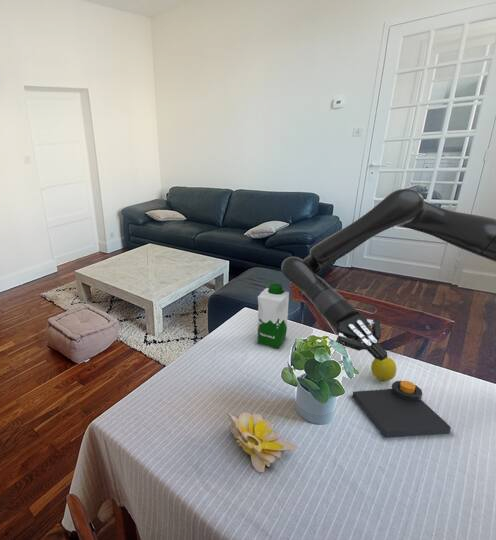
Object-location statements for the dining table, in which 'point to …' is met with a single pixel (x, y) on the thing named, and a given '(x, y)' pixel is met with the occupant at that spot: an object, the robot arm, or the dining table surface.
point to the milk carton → (272, 316)
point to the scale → (400, 412)
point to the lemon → (383, 369)
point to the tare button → (407, 387)
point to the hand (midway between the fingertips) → (384, 358)
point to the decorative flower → (258, 439)
